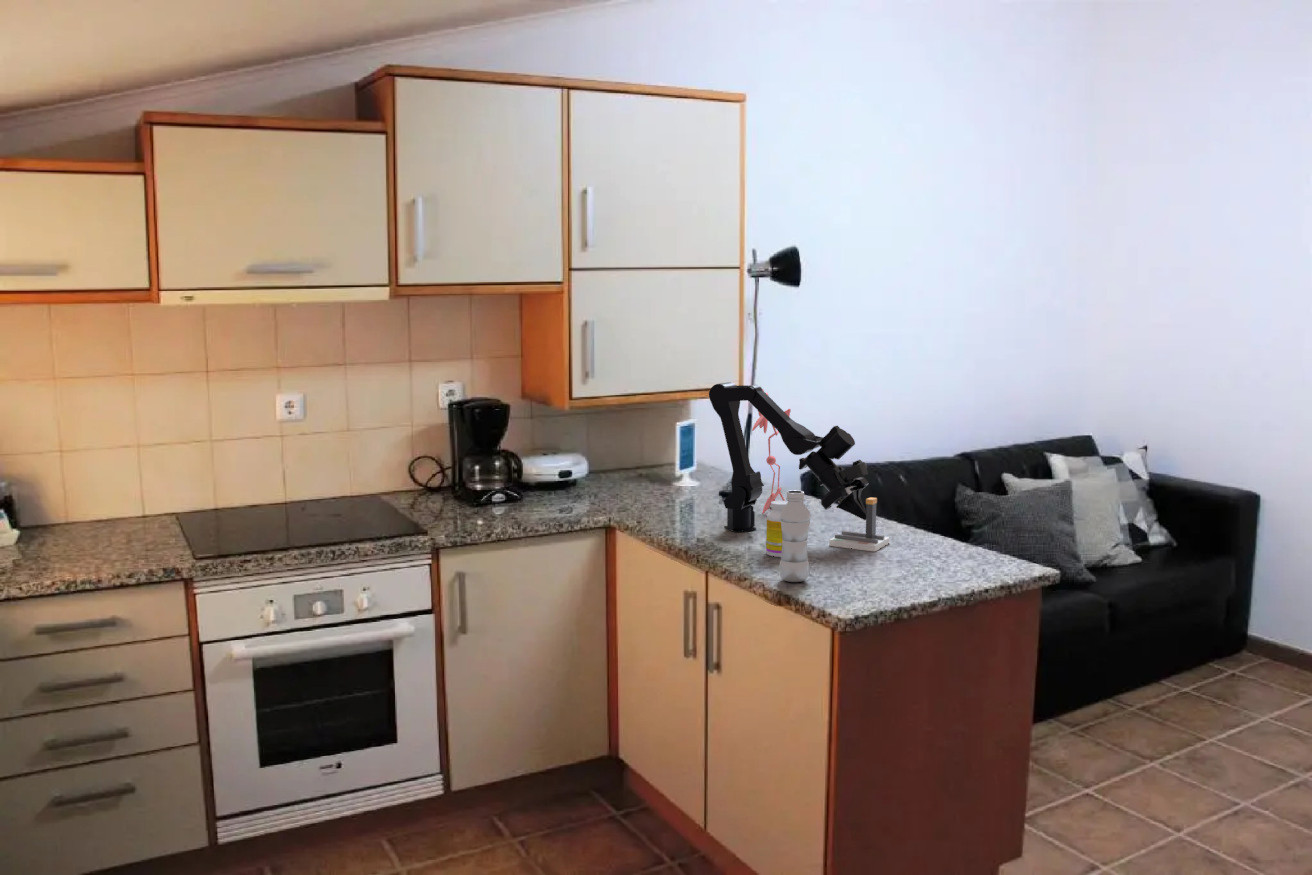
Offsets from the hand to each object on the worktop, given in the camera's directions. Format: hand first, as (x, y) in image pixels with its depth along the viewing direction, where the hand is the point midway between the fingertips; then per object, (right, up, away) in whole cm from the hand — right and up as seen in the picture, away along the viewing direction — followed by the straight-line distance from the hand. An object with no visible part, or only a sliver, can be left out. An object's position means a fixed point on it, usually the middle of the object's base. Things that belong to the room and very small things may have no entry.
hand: (867, 518), depth 275 cm
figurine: (-22, -1, +44) cm, 49 cm away
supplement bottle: (-23, -8, -8) cm, 25 cm away
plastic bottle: (-22, -12, -32) cm, 40 cm away
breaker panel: (-2, -7, +2) cm, 7 cm away
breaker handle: (+1, -5, 0) cm, 5 cm away
